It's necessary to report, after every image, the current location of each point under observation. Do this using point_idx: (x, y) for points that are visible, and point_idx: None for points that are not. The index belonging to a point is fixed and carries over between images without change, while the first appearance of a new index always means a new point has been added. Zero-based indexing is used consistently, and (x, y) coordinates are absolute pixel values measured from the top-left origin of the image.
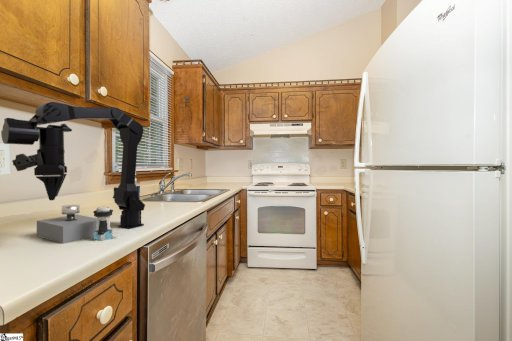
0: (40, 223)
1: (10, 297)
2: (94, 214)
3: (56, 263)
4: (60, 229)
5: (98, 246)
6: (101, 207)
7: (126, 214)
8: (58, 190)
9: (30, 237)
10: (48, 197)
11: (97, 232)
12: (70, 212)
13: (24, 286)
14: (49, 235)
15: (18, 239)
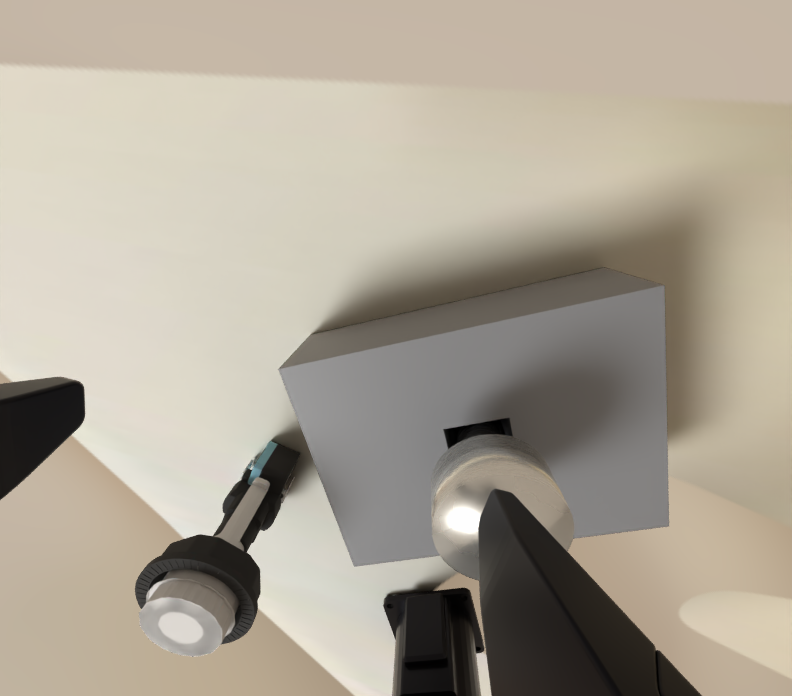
0: (590, 296)
1: None
2: (195, 545)
3: (4, 249)
4: (314, 354)
5: (165, 423)
6: (194, 624)
7: (402, 672)
8: (488, 619)
9: (597, 234)
10: (14, 382)
11: (251, 474)
12: (433, 480)
13: None
14: (447, 309)
15: (602, 171)
